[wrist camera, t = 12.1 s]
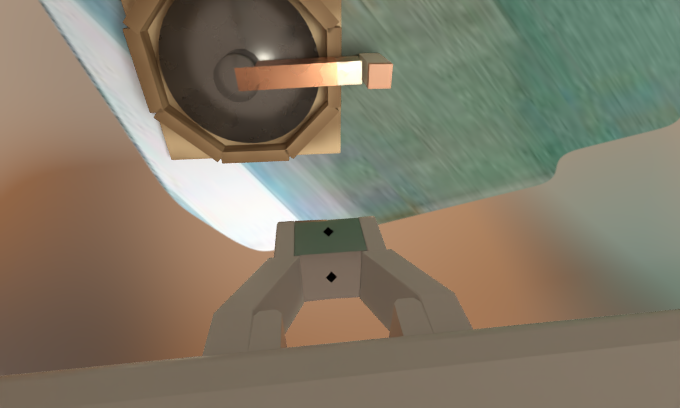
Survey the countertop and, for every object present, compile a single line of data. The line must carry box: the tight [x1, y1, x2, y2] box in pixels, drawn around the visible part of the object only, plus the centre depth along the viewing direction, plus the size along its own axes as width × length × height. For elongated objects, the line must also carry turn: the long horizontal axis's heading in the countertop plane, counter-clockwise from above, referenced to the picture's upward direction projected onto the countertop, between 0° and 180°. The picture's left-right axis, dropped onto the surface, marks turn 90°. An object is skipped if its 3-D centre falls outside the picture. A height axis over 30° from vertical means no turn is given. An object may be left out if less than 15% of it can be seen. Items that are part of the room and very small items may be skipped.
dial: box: [159, 0, 362, 143], centre depth 34 cm, size 21×17×6 cm
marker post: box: [359, 53, 393, 89], centre depth 36 cm, size 2×2×7 cm
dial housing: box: [121, 0, 341, 163], centre depth 36 cm, size 22×22×3 cm
